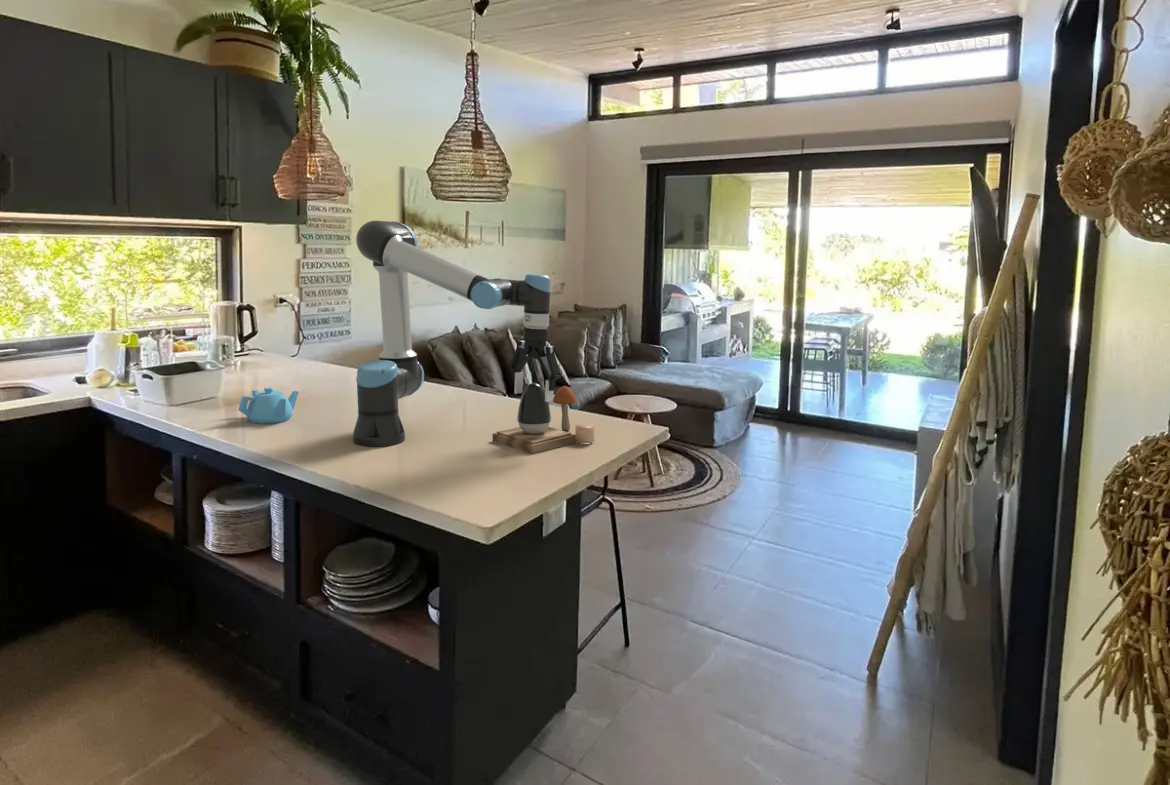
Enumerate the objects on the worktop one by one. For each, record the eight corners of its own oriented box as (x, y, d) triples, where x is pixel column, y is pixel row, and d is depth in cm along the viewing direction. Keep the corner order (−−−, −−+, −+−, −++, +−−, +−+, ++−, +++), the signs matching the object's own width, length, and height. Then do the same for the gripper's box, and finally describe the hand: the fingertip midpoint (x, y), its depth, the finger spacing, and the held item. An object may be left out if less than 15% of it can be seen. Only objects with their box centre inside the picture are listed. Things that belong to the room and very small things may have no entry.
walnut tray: (492, 441, 220) (492, 431, 219) (535, 431, 233) (535, 422, 232) (532, 453, 208) (532, 443, 207) (575, 442, 221) (576, 433, 220)
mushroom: (546, 429, 235) (547, 384, 232) (565, 426, 240) (566, 382, 237) (562, 434, 229) (563, 388, 226) (581, 431, 235) (582, 386, 232)
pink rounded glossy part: (571, 441, 222) (571, 426, 221) (583, 438, 226) (584, 422, 225) (585, 445, 218) (586, 429, 217) (598, 442, 222) (598, 426, 221)
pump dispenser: (540, 426, 226) (540, 379, 224) (557, 433, 218) (557, 384, 215) (511, 430, 221) (510, 381, 218) (527, 437, 212) (527, 386, 210)
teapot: (254, 414, 244) (252, 383, 242) (300, 414, 246) (299, 383, 244) (237, 425, 230) (235, 392, 227) (286, 425, 231) (284, 392, 229)
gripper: (499, 322, 219) (497, 391, 223) (556, 333, 202) (553, 406, 206) (517, 321, 224) (515, 388, 228) (575, 331, 208) (571, 403, 212)
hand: (533, 397), depth 217 cm, fingers open, 13 cm apart
